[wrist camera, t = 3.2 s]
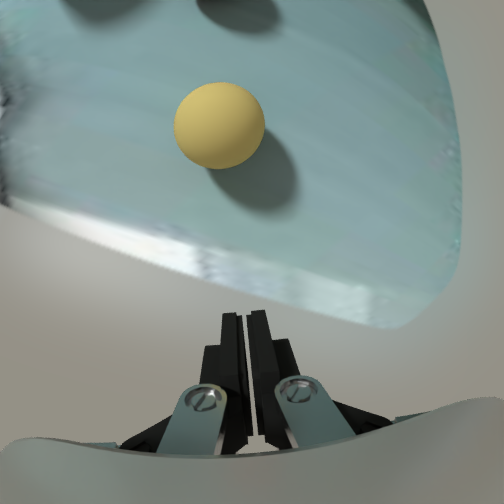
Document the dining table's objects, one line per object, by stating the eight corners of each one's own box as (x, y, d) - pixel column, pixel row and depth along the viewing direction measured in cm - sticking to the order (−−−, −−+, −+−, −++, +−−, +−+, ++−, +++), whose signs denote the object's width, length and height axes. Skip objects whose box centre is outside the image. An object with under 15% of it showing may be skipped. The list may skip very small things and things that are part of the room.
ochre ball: (196, 181, 19) (184, 183, 14) (171, 112, 18) (152, 90, 12) (270, 155, 19) (285, 147, 14) (244, 87, 18) (250, 57, 12)
